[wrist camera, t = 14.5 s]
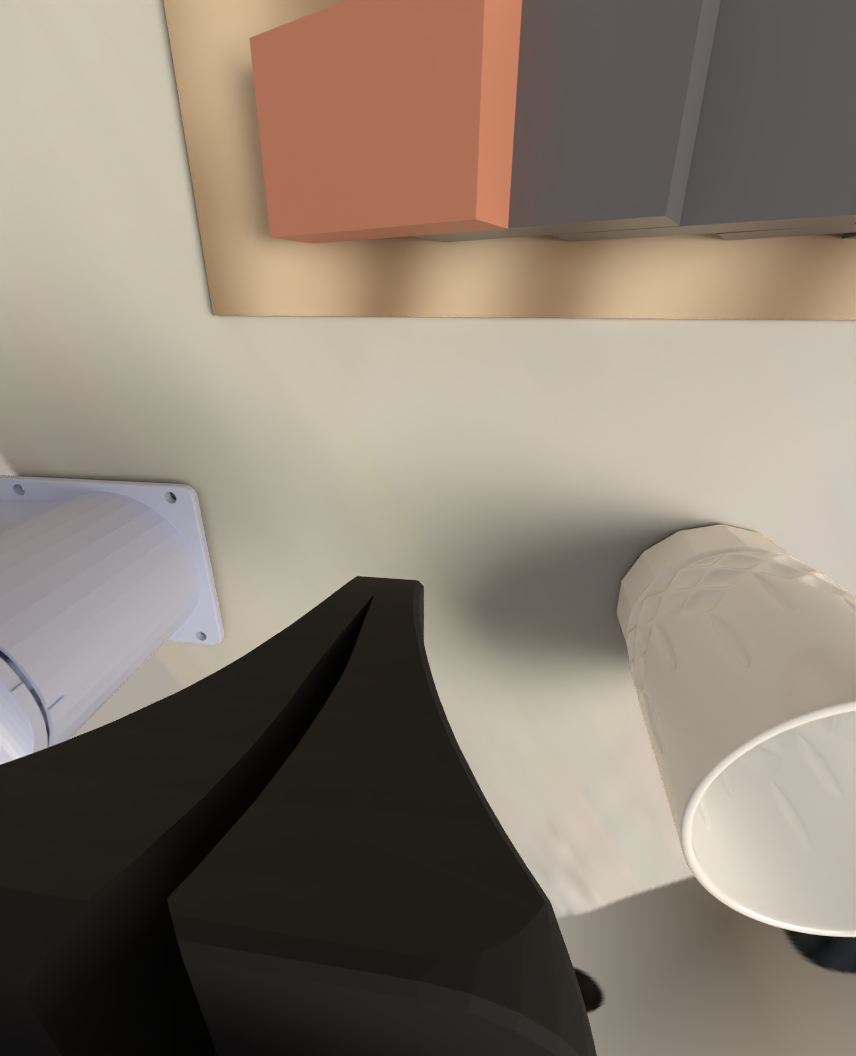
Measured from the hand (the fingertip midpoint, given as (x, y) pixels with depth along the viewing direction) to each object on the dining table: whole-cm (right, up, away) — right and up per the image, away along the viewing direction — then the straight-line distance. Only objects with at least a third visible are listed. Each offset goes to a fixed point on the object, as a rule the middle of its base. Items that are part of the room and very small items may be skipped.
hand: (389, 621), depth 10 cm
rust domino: (-4, +13, +5) cm, 14 cm away
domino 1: (+1, +13, +4) cm, 14 cm away
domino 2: (+5, +13, +4) cm, 14 cm away
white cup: (+12, -1, +11) cm, 16 cm away
